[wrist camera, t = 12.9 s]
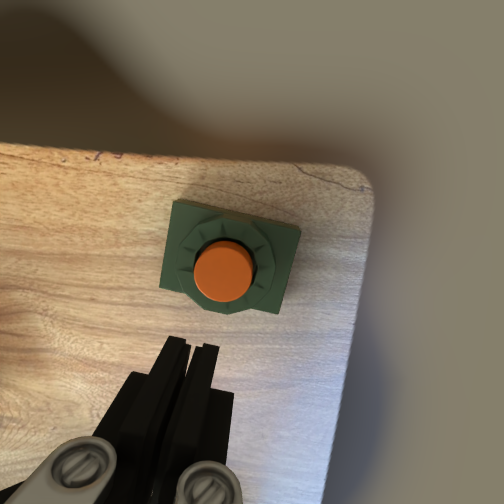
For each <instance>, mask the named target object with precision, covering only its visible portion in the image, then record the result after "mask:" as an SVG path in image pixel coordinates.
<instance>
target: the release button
mask: <svg viewBox="0 0 504 504" xmlns="http://www.w3.org/2000/svg"><path fill="white" fill-rule="evenodd" d="M252 271H253V264H252V260H251V257H250V255H249V253H248V252H247V251H246V250H245V249H244V248H243V247H242V246H241V245H239V244H237V243H235V242H231V241H219V242H215V243H213V244H211V245H209V246H208V247H207V248H206V249H205V250H204V251H203V253H202V254H201V256H200V257H199V259H198V260H197V262H196V265H195V268H194V279H195V282H196V285H197V287H198V288H199V290H200V291H201V292H202V293H203V294H204V295H205V296H207V297H208V298H210V299H212V300H215V301H219V302H229V301H233V300H236V299H238V298H239V297H241V296H242V295H243V294H245V292H246V291H247V290H248V288H249V286H250V284H251V280H252Z"/></svg>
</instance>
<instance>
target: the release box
mask: <svg viewBox="0 0 504 504" xmlns="http://www.w3.org/2000/svg"><path fill="white" fill-rule="evenodd" d="M300 234H301V230H300V228H299V226H295V225H291V224H287V223H283V222H278V221H274V220H270V219H265V218H261V217H257V216H253V215H248V214H244V213H240V212H235V211H231V210H227V209H222V208H218V207H214V206H210V205H205V204H201V203H197V202H192V201H188V200H184V199H177V200H175V201H173V205H172V211H171V217H170V223H169V229H168V235H167V241H166V247H165V253H164V259H163V265H162V271H161V277H160V284H159V288H162V289H166V290H171V291H175V292H180V293H184V294H186V295H187V296H188V297H189V298H191V299H192V300H193V301H194V302H195V303H197V304H198V305H199V306H200V307H201V308H203V309H204V310H209V311H213V312H218V313H222V314H227V315H228V314H232V313H236V312H240V311H243V310H247V309H256V310H260V311H265V312H269V313H274V314H279V311H280V307H281V303H282V300H283V296H284V293H285V289H286V285H287V282H288V278H289V274H290V271H291V267H292V263H293V260H294V256H295V253H296V249H297V245H298V242H299V238H300ZM219 241H231V242H235V243H237V244H239V245H241V246H242V247H243V248H244V249H245V250H246V251H247V252H248V253H249V255H250V257H251V260H252V264H253V271H252V280H251V284H250V286H249V288H248V290H247V291H246V292H245V294H243V295H242V296H241V297H239V298H238V299H236V300H233V301H229V302H219V301H215V300H212V299H210V298H208V297H207V296H205V295H204V294H203V293H202V292H201V291H200V290H199V288H198V287H197V285H196V282H195V279H194V268H195V265H196V262H197V260H198V259H199V257H200V256H201V254H202V253H203V251H204V250H205V249H206V248H207V247H208V246H209V245H211V244H213V243H215V242H219Z"/></svg>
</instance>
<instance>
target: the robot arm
mask: <svg viewBox="0 0 504 504" xmlns="http://www.w3.org/2000/svg"><path fill="white" fill-rule="evenodd" d="M219 348H220V346H215V345H211V344H206V343H204V344H203V347H198V346H196V348H195V351H194V353H193V356H192V359H191V362H190V365H189V368H188V370H187V373H186V369H187V364H188V360H189V355H190V350H191V345H189V344H186V339H183V338H179V337H174V336H169V337H168V339H167V341H166V342H165V344H164V346H163V348H162V350H161V352H160V354H159V356H158V358H157V359H156V361H155V363H154V365H153V367H152V369H151V371H150V373H149V375H148V374H143V373H139V372H134V371H133V372H131V373H130V375H129V376H128V378H127V380H126V381H125V383H124V384H123V386H122V388H121V389H120V391H119V392H118V394H117V396H116V397H115V399H114V401H113V402H112V404H111V405H110V407H109V409H108V410H107V412H106V414H105V415H104V417H103V418H102V420H101V422H100V423H99V425H98V426H97V428H96V430H95V431H94V433H93V435H92V436H85V437H78V438H75V439H71V440H69V441H67V442H65V443H63V444H61V445H60V446H59V447H57V448H56V449H55V450H54V451H53V452H52V453H51V454H50V455H49V456H48V457H47V458H46V459H45V460H44V461H43V462H42V463H41V464H40V465H39V467H38V468H37V469H36V470H35V471H34V472H33V473H32V474H31V475H30V476H29V477H28V478H27V479H26V480H25V481H22V482H20V483H18V484H15V485H13V486H11V487H8V488H6V489H4V490H1V491H0V504H148V503H149V500H150V497H151V494H152V498H151V503H150V504H243V501H242V491H241V487H240V483H239V481H238V479H237V477H236V475H235V474H234V473H233V472H232V471H231V470H230V469H229V468H228V467H226V458H227V450H228V442H229V433H230V425H231V417H232V408H233V400H234V393H232V392H227V391H222V390H218V389H213V388H210V387H211V383H212V378H213V374H214V370H215V365H216V361H217V356H218V352H219ZM185 374H186V376H185ZM152 491H153V493H152Z"/></svg>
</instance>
